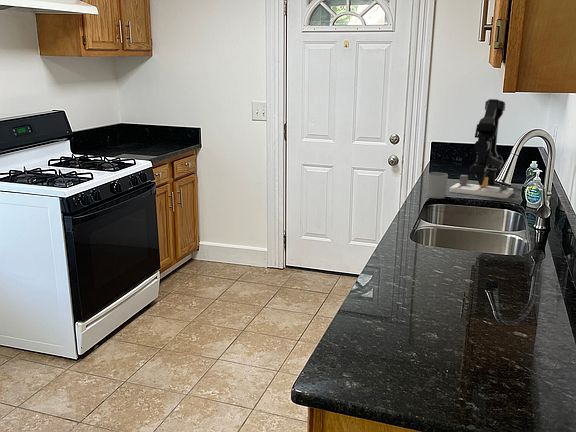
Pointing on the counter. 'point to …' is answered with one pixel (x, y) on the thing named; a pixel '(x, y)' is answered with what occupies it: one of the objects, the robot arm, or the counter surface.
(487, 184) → the orange matte cube
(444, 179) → the cup
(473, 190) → the breaker panel
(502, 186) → the switch
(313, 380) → the counter surface
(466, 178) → the switch
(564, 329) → the counter surface
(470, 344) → the counter surface
